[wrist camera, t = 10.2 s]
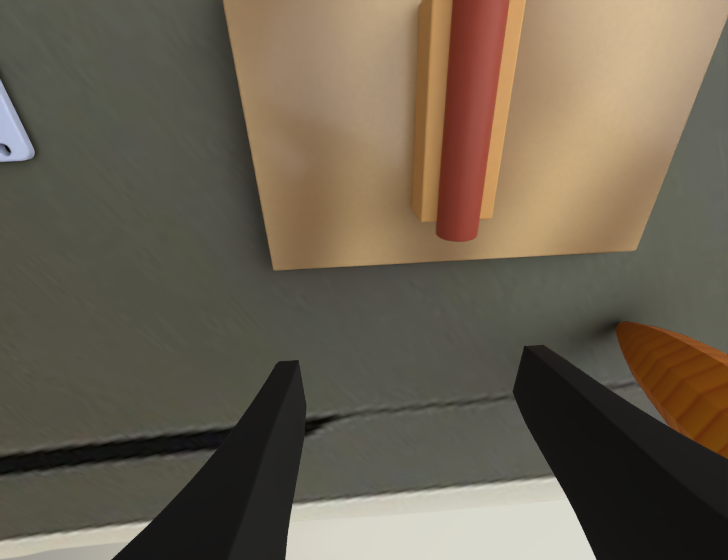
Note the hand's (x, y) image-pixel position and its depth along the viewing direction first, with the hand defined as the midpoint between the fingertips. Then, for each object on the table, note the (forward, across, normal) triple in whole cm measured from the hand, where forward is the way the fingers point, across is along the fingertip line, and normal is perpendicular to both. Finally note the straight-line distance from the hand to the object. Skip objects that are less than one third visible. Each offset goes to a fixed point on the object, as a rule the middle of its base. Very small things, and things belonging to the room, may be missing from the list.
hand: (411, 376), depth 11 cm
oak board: (+9, -4, -6) cm, 12 cm away
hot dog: (+8, -3, -7) cm, 11 cm away
